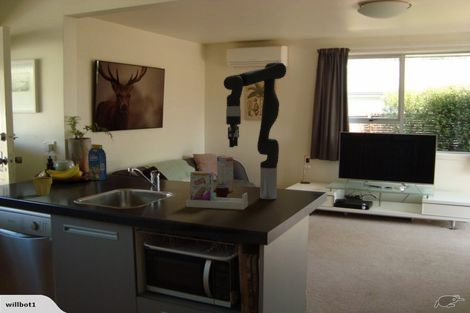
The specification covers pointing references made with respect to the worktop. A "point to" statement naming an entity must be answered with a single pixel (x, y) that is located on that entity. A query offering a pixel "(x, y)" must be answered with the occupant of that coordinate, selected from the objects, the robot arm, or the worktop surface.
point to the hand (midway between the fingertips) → (233, 146)
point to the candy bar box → (201, 185)
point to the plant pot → (42, 185)
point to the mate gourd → (221, 189)
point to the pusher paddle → (214, 198)
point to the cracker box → (225, 171)
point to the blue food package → (97, 163)
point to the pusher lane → (220, 203)
